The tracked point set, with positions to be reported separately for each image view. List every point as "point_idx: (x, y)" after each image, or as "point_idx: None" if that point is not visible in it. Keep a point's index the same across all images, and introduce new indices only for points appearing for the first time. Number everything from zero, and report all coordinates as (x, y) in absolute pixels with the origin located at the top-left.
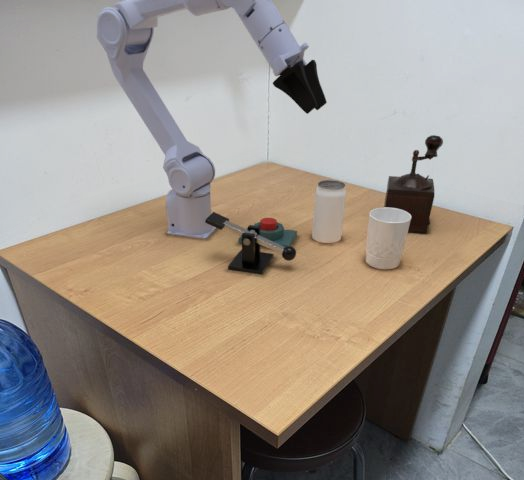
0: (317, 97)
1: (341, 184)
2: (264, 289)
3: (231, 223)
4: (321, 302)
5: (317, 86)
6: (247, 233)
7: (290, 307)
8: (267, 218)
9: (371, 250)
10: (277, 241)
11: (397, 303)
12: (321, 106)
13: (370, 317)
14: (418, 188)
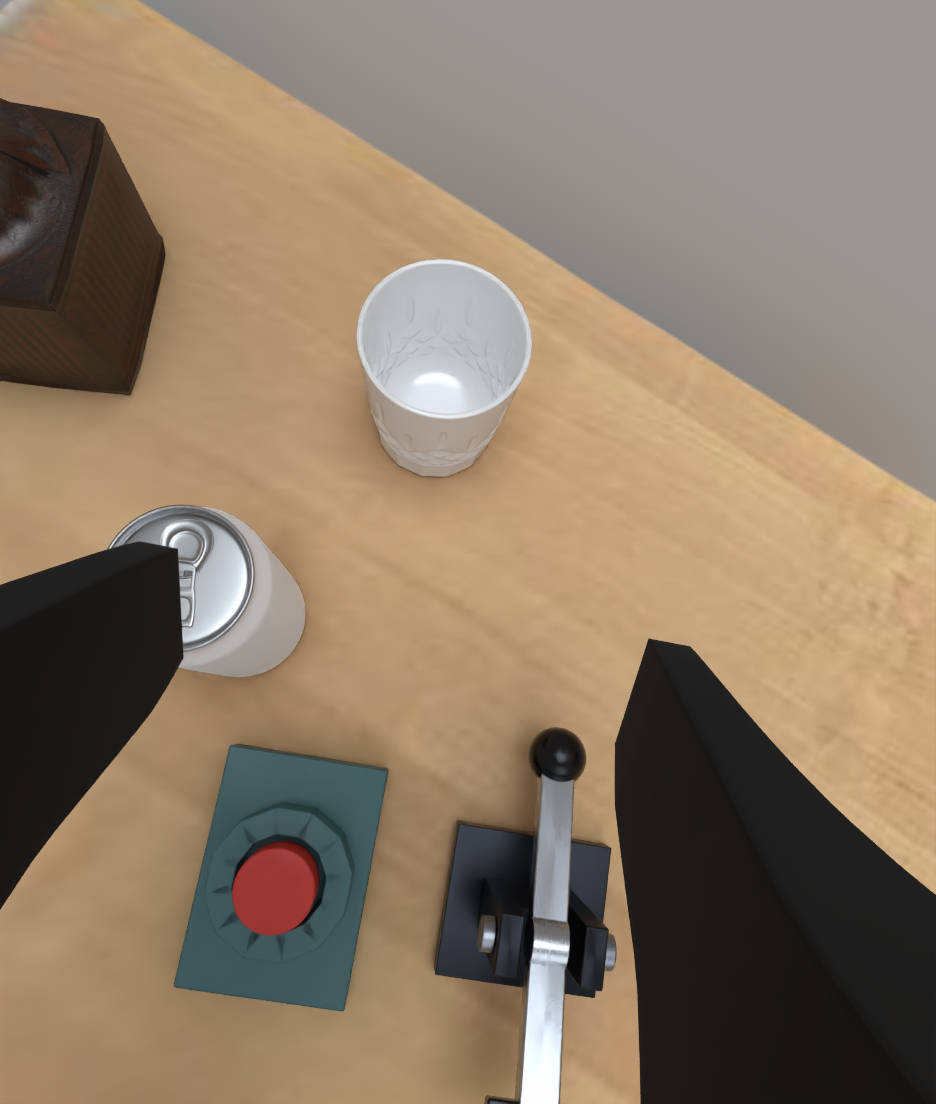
0: (116, 654)
1: (150, 524)
2: None
3: (530, 1072)
4: (735, 626)
5: (15, 656)
6: (590, 963)
7: (785, 720)
8: (245, 901)
9: (480, 447)
10: (354, 822)
11: (692, 409)
12: (179, 606)
13: (782, 488)
14: (53, 170)
